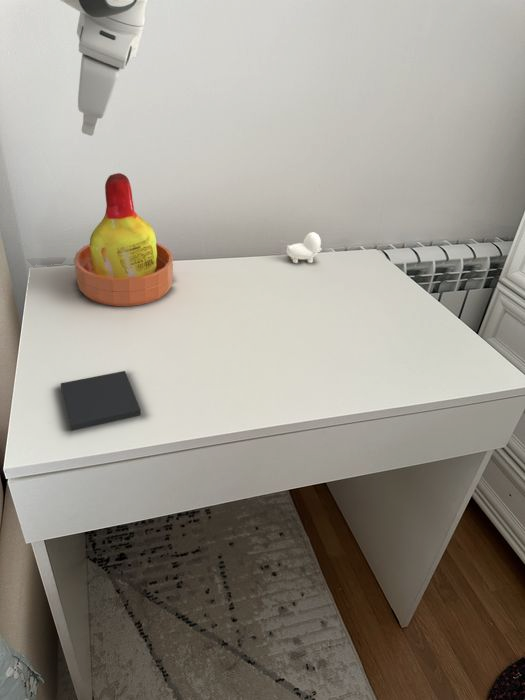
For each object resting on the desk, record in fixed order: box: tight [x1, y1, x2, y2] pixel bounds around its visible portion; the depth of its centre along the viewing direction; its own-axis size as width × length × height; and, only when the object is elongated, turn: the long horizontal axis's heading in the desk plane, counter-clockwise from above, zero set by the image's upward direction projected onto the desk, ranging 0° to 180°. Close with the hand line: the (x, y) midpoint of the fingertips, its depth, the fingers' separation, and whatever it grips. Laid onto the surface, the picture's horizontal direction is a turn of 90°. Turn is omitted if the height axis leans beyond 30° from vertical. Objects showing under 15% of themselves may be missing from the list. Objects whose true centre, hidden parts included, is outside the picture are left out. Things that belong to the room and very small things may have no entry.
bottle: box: [89, 172, 157, 278], centre depth 95 cm, size 12×6×20 cm, turn 114°
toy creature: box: [286, 231, 323, 264], centre depth 114 cm, size 5×8×6 cm, turn 102°
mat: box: [60, 370, 142, 432], centre depth 73 cm, size 9×9×1 cm
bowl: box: [73, 242, 174, 307], centre depth 99 cm, size 17×17×6 cm
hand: (90, 121), depth 88 cm, fingers open, 8 cm apart
